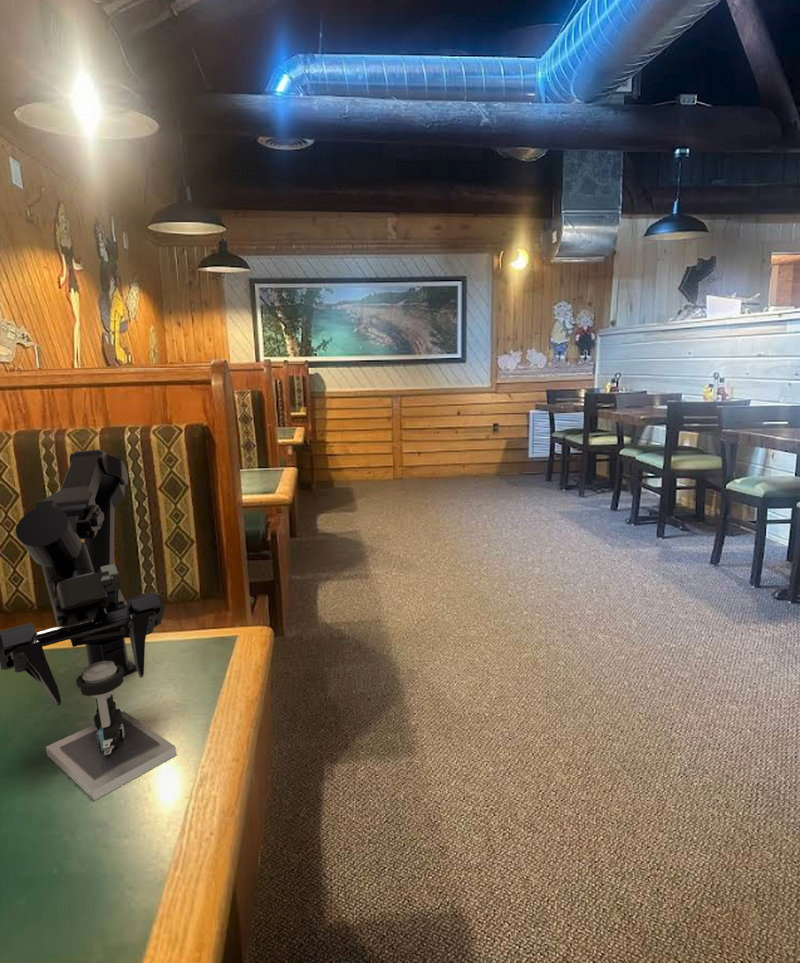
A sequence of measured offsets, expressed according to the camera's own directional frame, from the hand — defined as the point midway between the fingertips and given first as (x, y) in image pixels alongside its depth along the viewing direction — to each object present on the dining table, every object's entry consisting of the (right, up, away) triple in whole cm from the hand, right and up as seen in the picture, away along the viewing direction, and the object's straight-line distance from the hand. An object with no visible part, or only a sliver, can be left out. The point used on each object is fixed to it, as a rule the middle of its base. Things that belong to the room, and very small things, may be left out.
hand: (102, 689), depth 73 cm
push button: (0, -8, +3) cm, 8 cm away
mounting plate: (0, -9, +3) cm, 10 cm away
